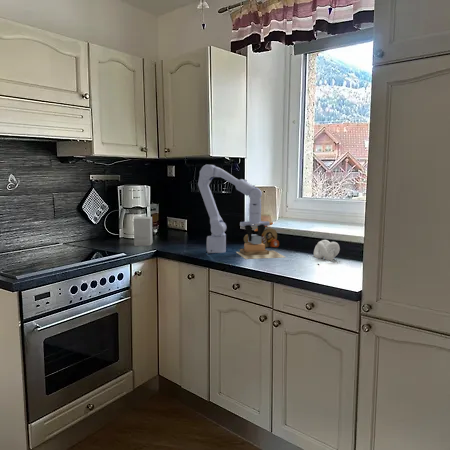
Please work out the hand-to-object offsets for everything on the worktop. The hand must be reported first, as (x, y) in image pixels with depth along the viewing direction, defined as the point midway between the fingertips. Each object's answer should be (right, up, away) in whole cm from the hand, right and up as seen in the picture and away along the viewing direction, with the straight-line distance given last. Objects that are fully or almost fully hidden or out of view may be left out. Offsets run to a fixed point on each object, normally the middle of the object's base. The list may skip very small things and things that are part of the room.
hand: (254, 240), depth 207 cm
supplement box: (-59, -3, +26) cm, 65 cm away
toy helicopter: (+5, -5, +18) cm, 20 cm away
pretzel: (+33, -9, -7) cm, 34 cm away
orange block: (0, -6, +1) cm, 6 cm away
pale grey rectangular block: (0, -1, 0) cm, 1 cm away
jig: (+3, -8, -2) cm, 8 cm away
